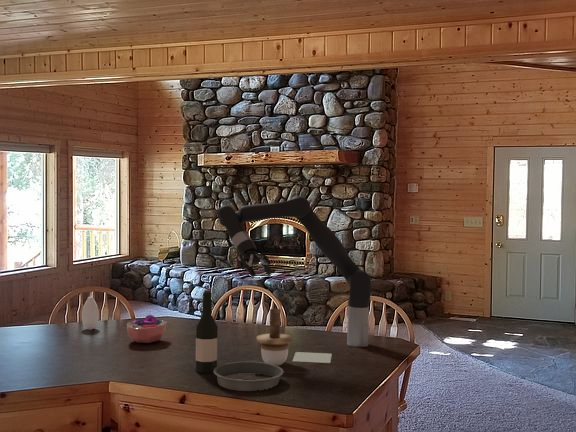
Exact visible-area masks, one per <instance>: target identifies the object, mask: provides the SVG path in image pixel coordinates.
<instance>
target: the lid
mask: <svg viewBox="0 0 576 432" xmlns="http://www.w3.org/2000/svg"><path fill="white" fill-rule="evenodd" d="M293 340H294V339H293V336H291V335H289V334H286V333H281V309H279V308H270V309H269V333H261V334H258V335H257V336H256V342H257V343H260V344H262V343H264V344H274V345H278V344H288V345H289V344H290V343H291V344H292V342H293Z"/></svg>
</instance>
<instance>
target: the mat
mask: <svg viewBox="0 0 576 432" xmlns="http://www.w3.org/2000/svg"><path fill="white" fill-rule="evenodd" d="M332 354H333V353H325V352H303V351H302V352H301V351H295V353H294V356H293V358H292V361H291V362H296V363H297V362H300V363H320V364H321V363H322V364H323V363H324V364H331V362H332V361H331V360H332Z"/></svg>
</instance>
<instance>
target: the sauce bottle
mask: <svg viewBox="0 0 576 432" xmlns="http://www.w3.org/2000/svg"><path fill="white" fill-rule="evenodd" d="M99 318H100V310H99V307H98V305H97V302H96V300H95V299H94V297H93V296H92V291H90V292H89V296H88V297H87V299H86V301H85V303H84V304H83V307H82V310H81V321H82V322H81V323H82V324H83V325H82V326H84V328H85V329H87V330H90V331H91V330H93V329H95V327H97V325H98V324H99Z"/></svg>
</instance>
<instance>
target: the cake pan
mask: <svg viewBox="0 0 576 432" xmlns="http://www.w3.org/2000/svg"><path fill="white" fill-rule="evenodd" d="M238 373H260V374H266V375H270V376H273V377H270V376H269V377H268V378H260V379H256V380H242V379H233V378H228V377H225V376H228V375H233V374H238ZM213 374H214V375H215V376H216V379H217V383H218V385H219V386H220V387H222V388H225V389H227V390H231V391H240V392H258V391H257V390H259V391H265V390H269V388H270V389H272V387H273V388H274V386H275V387H276V386H278V384H279V382H280V378H281V376H283V375H284V369H283V368H282V367H280V366H279V365H273V364H269V363H265V362H264V361H263V362H262V361H234V362H233V361H232V362H227V363H222V364H220V365H217V367H216V368H215V369H214V372H213ZM266 375H265V376H266ZM264 389H265V390H264Z"/></svg>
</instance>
